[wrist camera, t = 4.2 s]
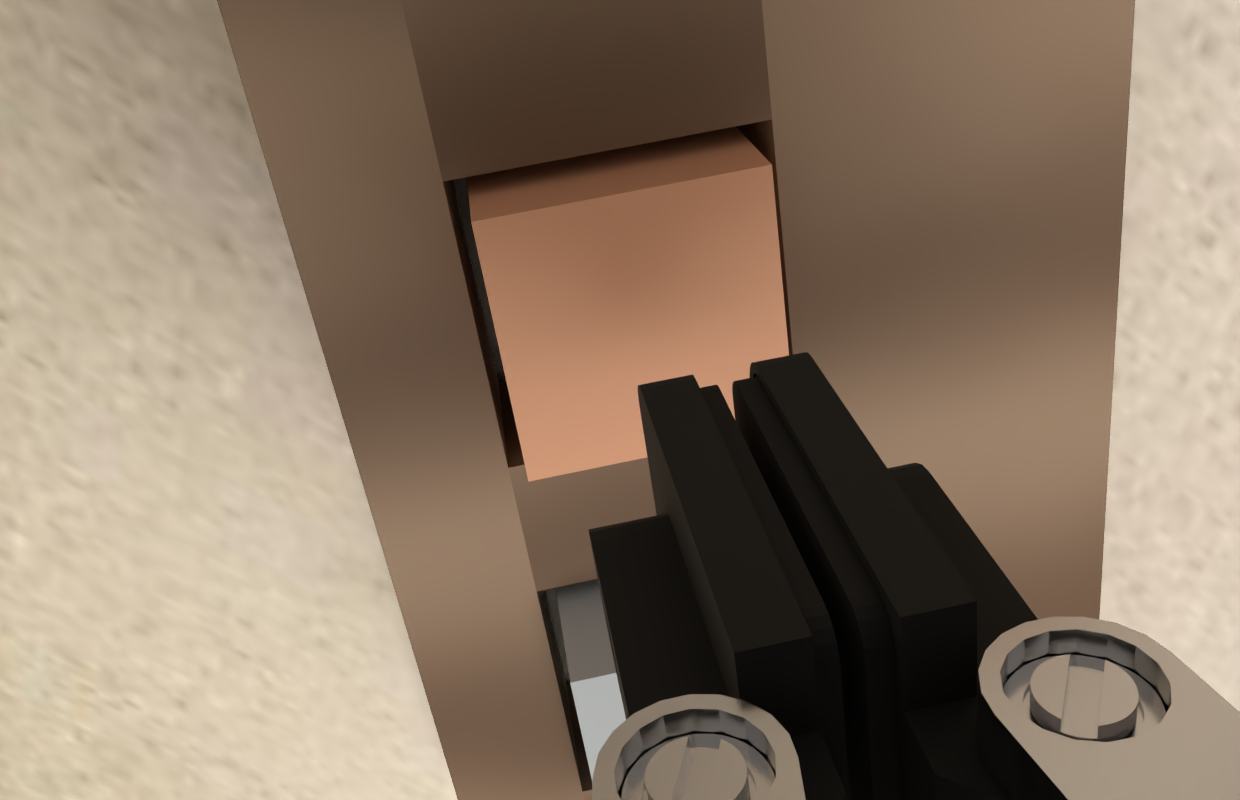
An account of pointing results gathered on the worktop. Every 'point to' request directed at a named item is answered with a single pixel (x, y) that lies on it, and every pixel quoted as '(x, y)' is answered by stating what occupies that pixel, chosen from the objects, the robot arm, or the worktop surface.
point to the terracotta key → (626, 286)
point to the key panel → (810, 263)
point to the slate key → (590, 665)
